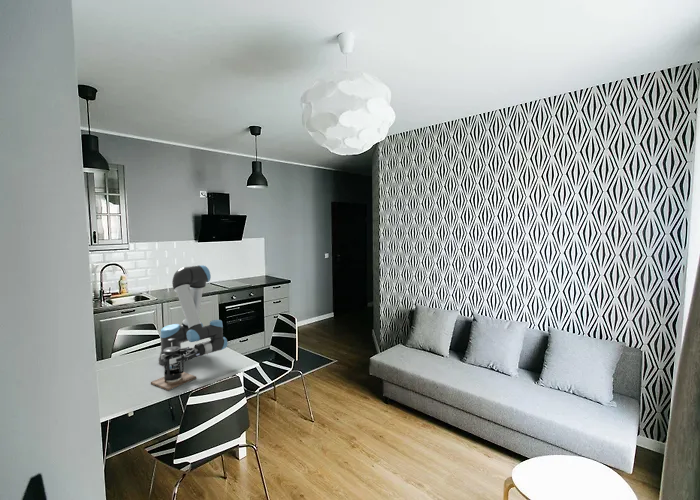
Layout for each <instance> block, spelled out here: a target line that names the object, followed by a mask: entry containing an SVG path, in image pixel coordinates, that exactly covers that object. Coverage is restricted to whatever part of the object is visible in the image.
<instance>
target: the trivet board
mask: <svg viewBox="0 0 700 500" xmlns="http://www.w3.org/2000/svg"><path fill="white" fill-rule="evenodd" d="M181 372H182V370H181ZM181 374H182V377H181V378H179V379H177V380H172V381H167V380H164V376H162V377H159V378H156V379H155V380H151V381H150V384H151V385H152V384H153V386H155V385H156V386H155V387H157V386H158V387H157V388H160V387H161V388H160V389H162V388H163V390H165V389H166V390H165V391H168V390H169V391H171V390H173V389H175V388H177V386H178V387H179V385H180V386H182V385H184V383H185V384H187V383H188V382H191V381H193V380H196V379H197V375H193V374H190V373H187V372H185V371H184V372H183V373H181ZM174 387H175V388H174ZM172 388H173V389H172ZM170 389H171V390H170Z"/></svg>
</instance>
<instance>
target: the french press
mask: <svg viewBox="0 0 700 500" xmlns="http://www.w3.org/2000/svg"><path fill="white" fill-rule="evenodd" d="M173 340H175V338H170V339H168V341H171V346H172V342H173ZM163 351H164V354H165V355H168V356H166V357H164V365H163V366H164V373H163V377H164V380H167V381H172V380H177V379H179V378H181V377H182V374H181V373H183V372H185V361H181V362H179V363H178V362H177V363H175V364H170V363H169V360H166V359H167V358H169V357H172V359H173V357H175V358H176V357H180V356H181V355H178V353H179V352H180V347H177V346H174V347H168V348H165V349H164V350H163ZM181 371H182V372H181Z"/></svg>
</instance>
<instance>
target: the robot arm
mask: <svg viewBox="0 0 700 500" xmlns="http://www.w3.org/2000/svg"><path fill="white" fill-rule="evenodd" d="M210 281H211V272H210V269H209V268H208V267H207V266H206V265H203V264H201V265H193V266H182V267H180V268H178V269H177V270H176V271H175V273H174V274H173V277H172V289H173V291H174V292H175V293H176V294H177V299H178V301H179V304H180V306H181V310H182V312H183V315H184V319H183V320H182V323H181V324H179V323H173V324H168V325H164V327H162V328H161V330H160V334H159V335H160V350H161V351H160V353H159V357H158V364H159V365H162V366H164V357H166V356H168V355H165V354H164V351H163V350H164V349H165V348H168V347H174V346H177V347H180V352H179V353H178V355H181V356H180V357H176V358H175V357H173V359H172V357H169V358H167V359H166V360H169V363H170V364H175V363H177V362H178V364H179V362H181V363H182V361H184V363H185V362H188V361H190V360H193V359H196V358H198V357H202V356H204V355H205V356H206V355H208V354H212V353H215V352H218V351H222V350H224V349H227V347H228V343H229V342H228V339H227V338H226V337H225V336H224V334H223V333H224V330H223V329H224V326H223V321H222V320H221V319H212V320H211V321H210V322H209V325H203V323H202V322H201V319H200V313H201V306H202V298H203V297H202V296H203V290H204V288H206V286H207V283H208V282H210ZM170 338H175V340H173V342H172V346H171V341H168V339H170ZM209 338H210V340H206V339H209ZM203 340H206V341H203ZM199 341H202V342H199ZM185 342H190V343H195V342H199V343H197V344H196V343H195V345H194V346H193V347H190V346H187V347H182V346H181V345H182V343H185Z"/></svg>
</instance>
